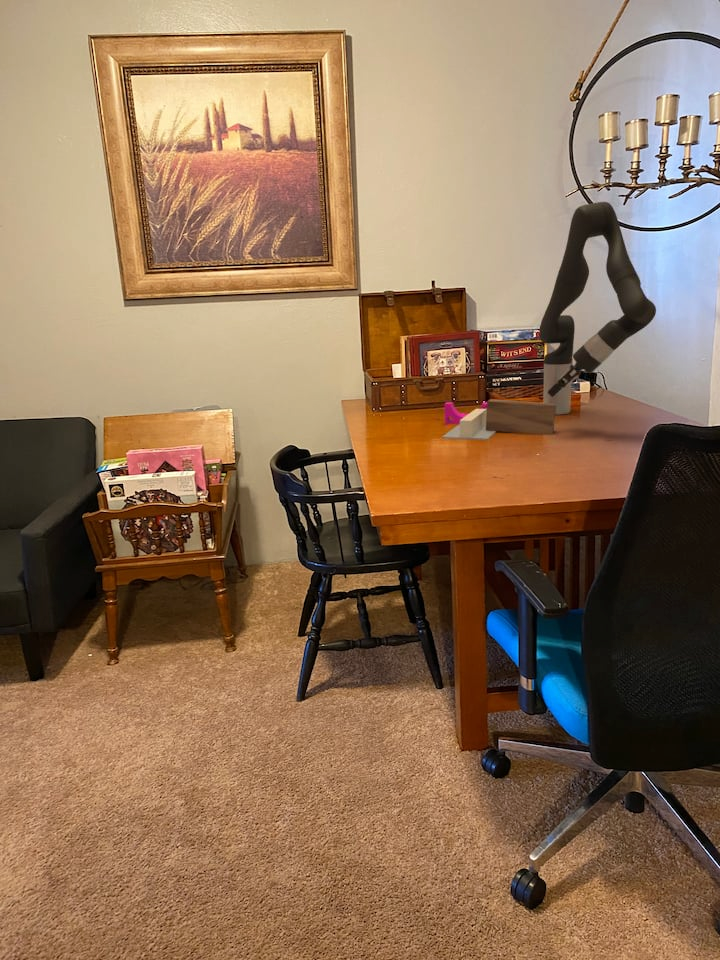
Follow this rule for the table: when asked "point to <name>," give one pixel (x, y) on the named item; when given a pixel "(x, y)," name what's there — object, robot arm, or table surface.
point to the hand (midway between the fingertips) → (551, 392)
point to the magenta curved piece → (456, 413)
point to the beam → (520, 416)
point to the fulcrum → (472, 427)
